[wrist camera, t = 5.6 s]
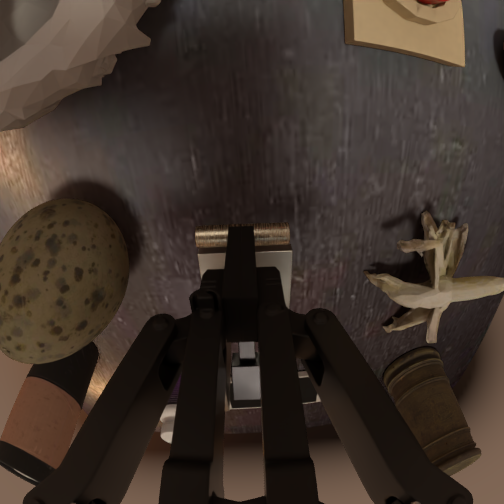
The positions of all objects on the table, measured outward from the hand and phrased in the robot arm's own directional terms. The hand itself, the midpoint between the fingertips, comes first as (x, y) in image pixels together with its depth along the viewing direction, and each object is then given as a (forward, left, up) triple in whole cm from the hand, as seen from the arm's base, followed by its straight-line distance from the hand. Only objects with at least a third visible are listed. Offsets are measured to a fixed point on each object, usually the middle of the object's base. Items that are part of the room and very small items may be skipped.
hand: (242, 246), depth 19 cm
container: (+25, +23, -7) cm, 35 cm away
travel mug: (+18, -23, -7) cm, 30 cm away
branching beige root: (+7, +18, -7) cm, 21 cm away
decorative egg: (+2, -14, -7) cm, 16 cm away
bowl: (-20, -13, -7) cm, 25 cm away
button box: (-19, +13, -7) cm, 24 cm away
